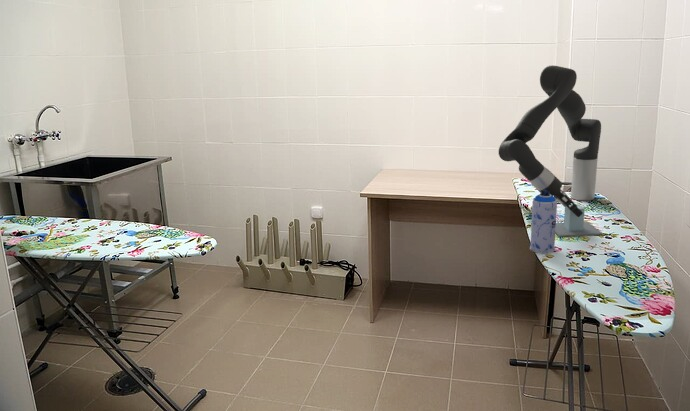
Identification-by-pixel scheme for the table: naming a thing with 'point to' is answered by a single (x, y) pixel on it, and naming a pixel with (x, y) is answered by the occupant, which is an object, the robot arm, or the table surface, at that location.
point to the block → (573, 219)
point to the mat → (586, 231)
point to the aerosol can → (543, 223)
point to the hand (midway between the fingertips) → (575, 211)
